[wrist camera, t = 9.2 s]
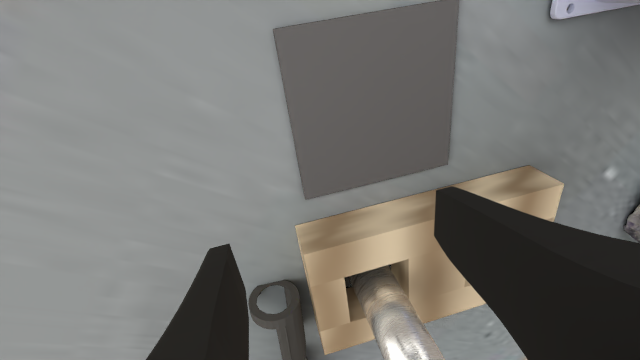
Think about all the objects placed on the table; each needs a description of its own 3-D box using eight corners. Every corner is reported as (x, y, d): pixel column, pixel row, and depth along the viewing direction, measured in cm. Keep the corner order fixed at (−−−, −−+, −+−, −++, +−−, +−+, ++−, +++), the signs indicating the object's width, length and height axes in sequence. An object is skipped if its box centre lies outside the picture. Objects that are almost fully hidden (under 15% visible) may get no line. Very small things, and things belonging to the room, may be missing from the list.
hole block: (529, 165, 25) (564, 184, 22) (508, 263, 30) (535, 287, 27) (294, 225, 22) (303, 254, 19) (315, 321, 27) (324, 354, 24)
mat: (455, -2, 18) (459, -3, 17) (445, 162, 23) (447, 164, 22) (273, 28, 16) (273, 29, 16) (304, 197, 21) (305, 199, 21)
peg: (374, 239, 24) (452, 368, 16) (386, 264, 26) (464, 394, 17) (338, 258, 24) (397, 397, 16) (352, 282, 26) (413, 420, 17)
